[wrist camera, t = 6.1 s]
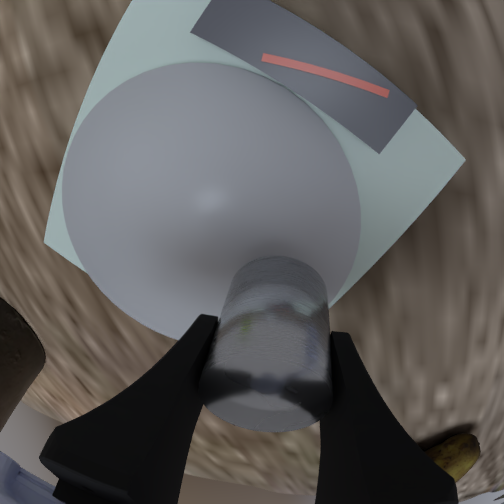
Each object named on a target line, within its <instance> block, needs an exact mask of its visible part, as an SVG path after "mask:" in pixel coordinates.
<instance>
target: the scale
mask: <svg viewBox="0 0 504 504" xmlns="http://www.w3.org/2000/svg"><path fill="white" fill-rule="evenodd" d="M417 106H418V105H417V104H416V103H414V102H413V101H412V100H411V99H410V98H409V97H408V96H407V95H406V94H404V93H403V92H402V91H401V90H400V89H399V88H397V87H396V86H395V85H394V84H393V83H392V82H390V81H389V80H388V79H387V78H385V77H384V76H383V75H382V74H381V73H379V72H378V71H377V70H375V69H374V68H373V67H372V66H370V65H369V64H368V63H366V62H365V61H364V60H362V59H361V58H360V57H358V56H357V55H356V54H354V53H353V52H352V51H350V50H349V49H347V48H346V47H345V46H343V45H342V44H340V43H339V42H337V41H336V40H334V39H333V38H331V37H330V36H328V35H327V34H325V33H324V32H322V31H321V30H319V29H318V28H316V27H314V26H313V25H311V24H310V23H308V22H306V21H305V20H303V19H301V18H300V17H298V16H296V15H295V14H293V13H291V12H289V11H288V10H286V9H284V8H282V7H280V6H279V5H277V4H275V3H273V2H271V1H269V0H132V2H131V3H130V5H129V7H128V9H127V10H126V12H125V14H124V16H123V17H122V19H121V21H120V23H119V25H118V27H117V28H116V30H115V32H114V34H113V36H112V38H111V40H110V42H109V44H108V46H107V48H106V50H105V52H104V54H103V56H102V59H101V61H100V63H99V65H98V67H97V69H96V72H95V74H94V76H93V79H92V81H91V83H90V86H89V88H88V90H87V93H86V95H85V98H84V100H83V103H82V106H81V108H80V111H79V114H78V116H77V119H76V122H75V125H74V128H73V130H72V133H71V136H70V139H69V143H68V146H67V149H66V152H65V155H64V159H63V162H62V165H61V169H60V173H59V176H58V180H57V184H56V188H55V192H54V196H53V200H52V204H51V209H50V213H49V218H48V223H47V228H46V233H45V238H44V243H45V244H47V245H48V246H49V247H51V248H52V249H54V250H55V251H56V252H58V253H59V254H61V255H62V256H63V257H65V258H66V259H68V260H69V261H70V262H72V263H73V264H75V265H76V266H78V267H79V268H80V269H82V270H83V271H85V272H86V273H88V274H89V276H90V277H91V279H92V280H93V281H94V283H95V284H96V285H97V286H98V288H99V289H100V290H101V291H102V292H103V293H104V294H105V295H106V296H107V297H108V298H109V299H110V300H111V301H112V302H113V303H114V304H115V305H116V306H117V307H119V308H120V309H121V310H122V311H124V312H125V313H126V314H127V315H129V316H130V317H132V318H133V319H135V320H136V321H138V322H139V323H141V324H143V325H145V326H147V327H148V328H150V329H152V330H154V331H156V332H159V333H161V334H163V335H166V336H168V337H171V338H174V339H177V340H179V339H180V338H181V337H182V336H183V335H184V333H185V332H186V331H187V330H188V329H189V327H190V326H191V325H192V324H193V322H194V321H195V320H196V318H197V317H198V316H199V315H200V314H206V315H212V316H218V321H219V317H220V314H221V311H222V308H223V305H224V302H225V299H226V296H227V293H228V290H229V287H230V284H231V281H232V279H233V277H234V275H235V274H236V272H237V271H238V270H239V269H240V268H241V267H242V266H244V265H245V264H247V263H248V262H250V261H252V260H255V259H258V258H261V257H265V256H287V257H291V258H295V259H298V260H300V261H302V262H304V263H306V264H308V265H309V266H311V267H312V268H313V269H314V270H316V271H317V272H318V274H319V275H320V276H321V278H322V279H323V281H324V283H325V285H326V289H327V295H328V309H329V308H330V307H331V306H332V305H333V304H335V303H336V302H337V301H338V300H339V299H340V298H341V297H342V296H343V295H344V294H345V293H346V292H347V291H348V290H349V289H350V288H351V287H352V286H353V285H354V284H355V283H356V282H357V281H358V280H359V279H360V278H361V277H362V276H363V275H364V274H365V273H366V272H367V271H368V270H369V269H370V268H371V267H372V266H373V265H374V264H375V263H376V262H377V261H378V260H379V259H380V258H381V256H382V255H383V254H384V253H385V252H386V251H387V250H388V249H389V248H390V247H391V246H392V245H393V244H394V243H395V242H396V241H397V239H398V238H399V237H400V236H401V235H402V234H403V233H404V232H405V231H406V230H407V229H408V227H409V226H410V225H411V224H412V223H413V222H414V221H415V220H416V219H417V217H418V216H419V215H420V214H421V213H422V212H423V211H424V210H425V208H426V207H427V206H428V205H429V204H430V203H431V201H432V200H433V199H434V198H435V197H436V196H437V194H438V193H439V192H440V191H441V190H442V189H443V187H444V186H445V185H446V184H447V183H448V181H449V180H450V179H451V178H452V176H453V175H454V174H455V173H456V172H457V170H458V169H459V168H460V167H461V165H462V164H463V163H464V162H465V160H466V159H465V158H464V157H463V156H462V155H461V154H460V153H459V152H458V151H457V150H456V148H455V147H454V146H453V145H452V144H451V143H450V142H449V141H448V140H447V139H446V138H445V137H444V136H443V135H442V134H441V133H440V132H439V131H438V130H437V129H436V128H435V127H434V126H433V125H432V124H431V123H430V122H429V121H428V120H427V119H426V118H425V117H424V116H423V115H422V114H421V113H420V112H418V111H417V110H416V109H415V108H416V107H417Z"/></svg>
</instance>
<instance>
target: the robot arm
mask: <svg viewBox="0 0 504 504" xmlns="http://www.w3.org/2000/svg"><path fill="white" fill-rule="evenodd" d="M217 324H218V316H212V315H206V314H200V315H199V316H198V317H197V318H196V320H195V321H194V322H193V324H192V325H191V326H190V327H189V329H188V330H187V331H186V332H185V333H184V335H183V336H182V337H181V338H180V339H179V340H178V341H177V343H176V344H175V345H174V346H173V347H172V348H171V349H170V350H169V351H168V352H167V353H166V354H165V355H164V356H163V357H162V358H161V359H160V360H159V361H158V362H157V363H156V364H155V365H154V366H153V367H152V368H151V369H150V370H149V371H147V372H146V373H145V374H144V375H143V376H142V377H140V378H139V379H138V380H137V381H135V382H134V383H133V384H132V385H130V386H129V387H128V388H126V389H125V390H123V391H122V392H121V393H119V394H118V395H116V396H115V397H113V398H112V399H110V400H109V401H107V402H105V403H104V404H102V405H100V406H98V407H97V408H95V409H93V410H91V411H90V412H88V413H86V414H84V415H82V416H80V417H78V418H76V419H73V420H71V421H69V422H67V423H64V424H62V425H60V426H57V427H56V428H55V429H54V431H53V432H52V434H51V435H50V436H49V438H48V440H47V442H46V444H45V446H44V448H43V450H42V452H41V454H40V456H39V459H40V461H41V463H42V464H43V465H44V466H45V467H46V468H47V469H48V470H50V471H51V472H52V473H53V474H54V475H55V476H57V477H58V478H59V480H58V483H57V485H56V487H55V486H53V485H51V484H49V483H47V482H46V481H44V480H42V479H40V478H38V477H37V476H35V475H33V474H31V473H30V472H28V471H26V470H25V469H23V468H21V467H20V465H19V464H17V463H16V462H15V461H14V460H12V459H11V458H10V457H9V456H7V455H6V454H4V453H3V452H1V451H0V504H177V503H178V498H179V493H180V488H181V483H182V478H183V474H184V469H185V465H186V460H187V456H188V452H189V448H190V443H191V439H192V435H193V432H194V429H195V426H196V423H197V420H198V417H199V415H200V412H201V409H202V406H203V403H202V401H201V399H200V397H199V394H198V383H199V380H200V377H201V374H202V370H203V367H204V364H205V361H206V358H207V355H208V352H209V349H210V345H211V342H212V339H213V336H214V333H215V330H216V327H217ZM330 341H331V363H332V392H333V402H332V406H331V408H330V410H329V412H328V413H327V414H326V415H325V416H324V417H323V418H322V419H321V420H320V438H321V453H320V465H319V476H318V484H317V493H316V500H315V504H458V495H457V488H456V484H455V480H454V478H453V477H452V476H450V475H449V474H448V473H447V472H446V471H444V470H443V469H442V468H441V467H440V466H438V465H437V464H436V463H435V462H434V461H433V460H432V459H431V458H430V457H429V456H428V455H427V454H426V453H425V452H424V451H423V450H422V449H421V448H420V447H419V446H418V445H417V444H416V443H415V441H414V440H413V439H412V438H411V437H410V436H409V435H408V434H407V432H406V431H405V430H404V428H403V427H402V426H401V425H400V423H399V422H398V421H397V419H396V418H395V416H394V415H393V414H392V412H391V411H390V409H389V408H388V406H387V405H386V403H385V402H384V400H383V398H382V397H381V395H380V394H379V392H378V390H377V388H376V387H375V385H374V383H373V381H372V379H371V378H370V376H369V374H368V372H367V370H366V368H365V366H364V364H363V362H362V360H361V358H360V356H359V354H358V352H357V350H356V348H355V345H354V343H353V341H352V339H351V336H350V335H349V333H345V332H335V331H332V332H331V335H330Z"/></svg>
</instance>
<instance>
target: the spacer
mask: <svg viewBox="0 0 504 504" xmlns="http://www.w3.org/2000/svg"><path fill="white" fill-rule="evenodd" d="M198 394H199V397H200V399H201V401H202V403H203V404H204V405H205V406H206V408H207V409H209V410H210V411H211V412H212V413H213V414H214V415H216V416H217V417H219V418H221V419H222V420H224V421H226V422H228V423H231V424H233V425H236V426H239V427H242V428H246V429H250V430H255V431H262V432H286V431H293V430H298V429H301V428H305V427H307V426H310V425H312V424H314V423H316V422H318V421H319V420H321V419H322V418H323V417H324V416H325V415H326V414H327V413H328V412H329V410H330V408H331V406H332V402H333V392H332V363H331V341H330V324H329V309H328V295H327V289H326V285H325V283H324V281H323V279H322V278H321V276H320V275H319V274H318V272H317V271H316V270H314V269H313V268H312V267H311V266H309V265H308V264H306V263H304V262H302V261H300V260H298V259H295V258H291V257H287V256H265V257H261V258H258V259H255V260H252V261H250V262H248V263H247V264H245V265H244V266H242V267H241V268H240V269H239V270H238V271H237V272H236V274H235V275H234V277H233V279H232V281H231V284H230V287H229V290H228V293H227V296H226V299H225V302H224V305H223V308H222V311H221V314H220V317H219V321H218V324H217V327H216V330H215V333H214V336H213V339H212V342H211V345H210V349H209V352H208V355H207V358H206V361H205V364H204V367H203V370H202V374H201V377H200V380H199V383H198Z"/></svg>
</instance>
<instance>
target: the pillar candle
mask: <svg viewBox="0 0 504 504" xmlns="http://www.w3.org/2000/svg"><path fill="white" fill-rule="evenodd" d="M44 363H45V354H44V351H43V348H42V346H41V344H40V342H39V340H38V339H37V337H36V336H35V334H34V333H33V331H32V330H31V329H30V328H29V327H28V326H27V324H26V323H25V322H24V320H23V319H22V318H21V317H20V315H19V314H18V313H17V312H16V311H15V310H14V308H13V307H11V306H10V305H9V304H7V303H6V302H4V301H3V300H2V299H0V432H1V430H2V429H3V427H4V425H5V424H6V422H7V420H8V419H9V417H10V416H11V414H12V412H13V411H14V409H15V407H16V406H17V405H18V403H19V402H20V400H21V399H22V397H23V395H24V394H25V393H26V391H27V389H28V388H29V387H30V385H31V384H32V382H33V381H34V380H35V378H36V377H37V375H38V374H39V373H40V371H41V370H42V368H43V366H44Z"/></svg>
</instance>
